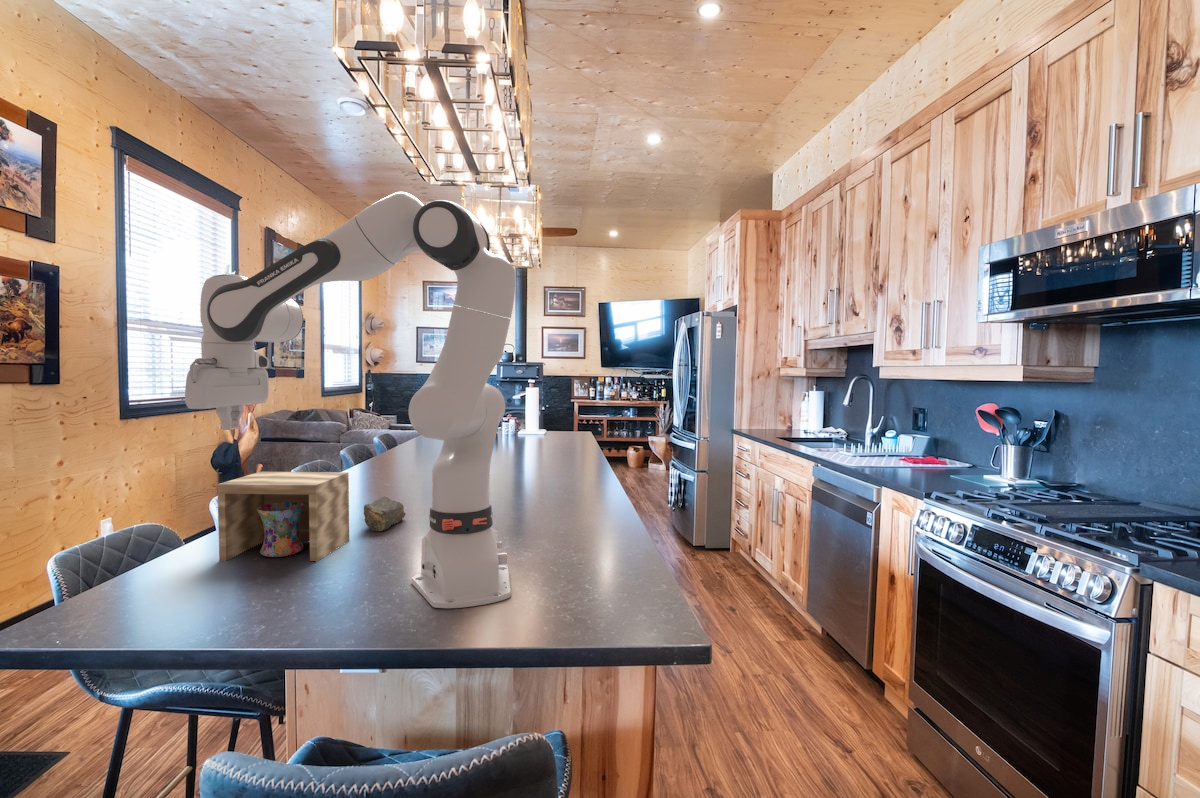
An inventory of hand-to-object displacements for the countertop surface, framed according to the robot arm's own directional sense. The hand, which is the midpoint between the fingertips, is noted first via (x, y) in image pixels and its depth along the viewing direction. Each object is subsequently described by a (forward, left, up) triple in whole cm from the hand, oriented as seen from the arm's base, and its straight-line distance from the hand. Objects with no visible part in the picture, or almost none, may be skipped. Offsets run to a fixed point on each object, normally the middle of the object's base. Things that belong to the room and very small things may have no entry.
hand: (230, 429), depth 115 cm
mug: (+13, -8, -29) cm, 33 cm away
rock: (+29, -29, -30) cm, 51 cm away
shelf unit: (+13, -8, -29) cm, 33 cm away
